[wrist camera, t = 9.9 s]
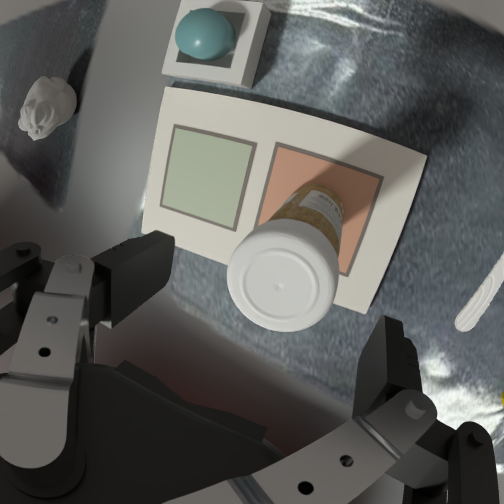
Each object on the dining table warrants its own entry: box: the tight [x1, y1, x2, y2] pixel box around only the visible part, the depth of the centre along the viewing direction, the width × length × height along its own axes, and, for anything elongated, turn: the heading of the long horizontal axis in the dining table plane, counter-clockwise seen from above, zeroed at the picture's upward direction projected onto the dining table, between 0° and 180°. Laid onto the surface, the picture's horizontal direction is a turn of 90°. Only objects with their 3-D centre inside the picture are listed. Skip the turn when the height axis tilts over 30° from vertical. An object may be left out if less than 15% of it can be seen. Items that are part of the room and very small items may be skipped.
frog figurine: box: [18, 76, 77, 141], centre depth 26 cm, size 6×7×7 cm
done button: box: [175, 8, 236, 61], centre depth 20 cm, size 4×4×2 cm
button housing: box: [162, 0, 271, 89], centre depth 22 cm, size 7×7×3 cm
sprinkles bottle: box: [227, 183, 344, 332], centre depth 19 cm, size 5×5×13 cm
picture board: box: [141, 87, 427, 314], centre depth 26 cm, size 22×14×1 cm, turn 76°
